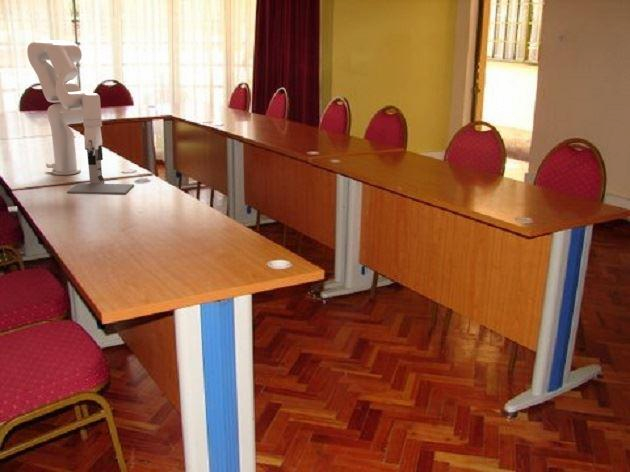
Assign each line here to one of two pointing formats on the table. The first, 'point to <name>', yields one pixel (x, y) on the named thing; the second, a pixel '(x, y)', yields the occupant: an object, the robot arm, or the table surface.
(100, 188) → the mat
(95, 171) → the vintage mobile phone
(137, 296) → the table surface
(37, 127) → the table surface
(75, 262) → the table surface
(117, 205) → the table surface
